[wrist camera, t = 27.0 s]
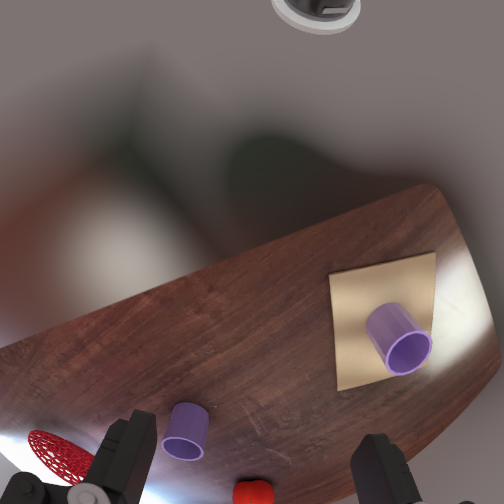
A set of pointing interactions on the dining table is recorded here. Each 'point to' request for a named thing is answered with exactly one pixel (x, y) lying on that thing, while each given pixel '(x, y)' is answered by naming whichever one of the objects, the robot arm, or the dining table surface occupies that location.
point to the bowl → (62, 455)
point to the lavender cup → (398, 338)
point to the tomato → (253, 493)
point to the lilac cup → (186, 432)
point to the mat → (369, 299)
